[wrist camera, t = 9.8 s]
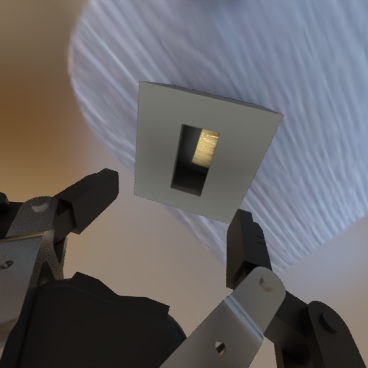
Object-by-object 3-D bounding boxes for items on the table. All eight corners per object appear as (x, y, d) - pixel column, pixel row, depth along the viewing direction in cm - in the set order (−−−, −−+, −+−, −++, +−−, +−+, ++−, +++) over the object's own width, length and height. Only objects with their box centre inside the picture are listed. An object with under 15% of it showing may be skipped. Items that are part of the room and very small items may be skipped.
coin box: (170, 84, 21) (139, 80, 14) (262, 106, 20) (283, 115, 13) (159, 166, 28) (133, 194, 20) (229, 186, 27) (230, 224, 19)
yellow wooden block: (191, 162, 23) (206, 119, 20) (193, 157, 25) (207, 117, 22) (224, 174, 23) (245, 133, 20) (225, 168, 25) (243, 129, 22)
